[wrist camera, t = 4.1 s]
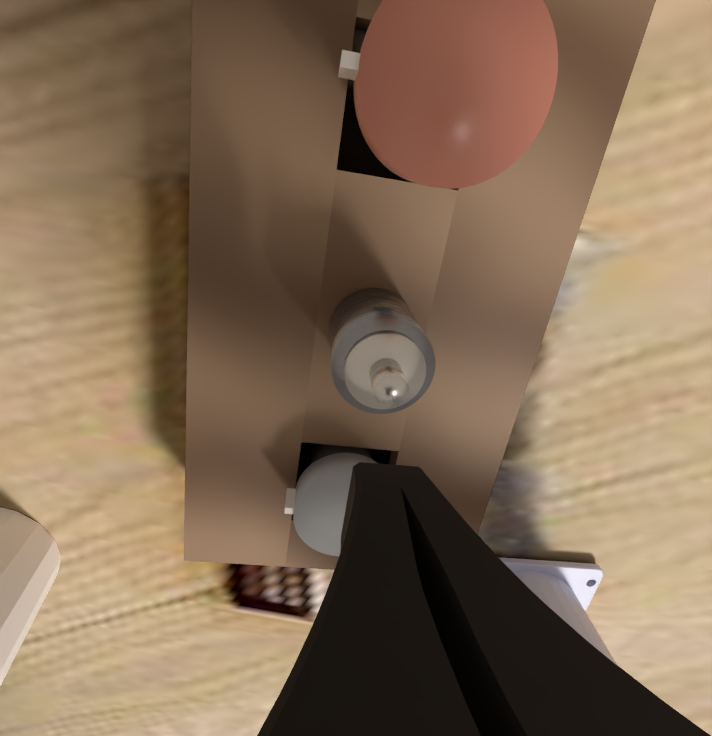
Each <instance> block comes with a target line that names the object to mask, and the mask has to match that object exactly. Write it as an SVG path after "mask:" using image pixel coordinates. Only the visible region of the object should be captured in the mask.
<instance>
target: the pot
mask: <svg viewBox="0 0 712 736" xmlns="http://www.w3.org/2000/svg"><path fill="white" fill-rule="evenodd" d="M330 347H331V365H332V377H333V381H334V384H335V386H336V388H337V390H338V392H339V393H340V395H341V396H342V397H343V398H344V399H345V400H346V401H347V402H348V403H349V404H350V405H352V406H354V407H355V408H357V409H359V410H362V411H365V412H368V413H374V414H388V413H393V412H397V411H400V410H403V409H405V408H407V407H409V406H411V405H412V404H414V403H415V402H416V401H418V400H419V399H420V398H421V397H422V396H423V395H424V393H425V392H426V391H427V389H428V388H429V386H430V384H431V382H432V380H433V377H434V373H435V365H436V361H435V354H434V350H433V347H432V345H431V343H430V341H429V340H428V338H427V336H426V335H425V333H424V332H423V330H422V328H421V327H420V325H419V324H418V322H417V320H416V319H415V317H414V315H413V314H412V312H411V311H410V309H409V307H408V306H407V304H406V303H405V302H404V301H403V300H402V299H401V298H400V297H399V296H398V295H396V294H395V293H393V292H391V291H389V290H386V289H382V288H364V289H360V290H357V291H355V292H353V293H351V294H349V295H348V296H346V297H345V298H344V299H343V300H342V301H341V302H340V303H339V304H338V305H337V307H336V308H335V310H334V312H333V314H332V317H331V321H330Z"/></svg>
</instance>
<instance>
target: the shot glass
mask: <svg viewBox="0 0 712 736" xmlns="http://www.w3.org/2000/svg"><path fill="white" fill-rule="evenodd" d="M60 560H61V556H60V553H59V550H58V547H57V544H56V542H55V539H54V538H53V537H52V536H51V535H50V534H49V533H48V532H47V531H46V530H45V529H44V528H43V527H42V526H41V525H40V524H39V523H38V522H36V521H34V520H32V519H30V518H28V517H27V516H25V515H23V514H21V513H19V512H17V511H14V510H10V509H6V508H1V507H0V686H1V684H2V682H3V680H4V678H5V676H6V674H7V672H8V670H9V668H10V666H11V664H12V662H13V660H14V658H15V656H16V654H17V652H18V651H19V649H20V647H21V645H22V643H23V641H24V639H25V637H26V635H27V633H28V631H29V629H30V627H31V625H32V623H33V621H34V619H35V617H36V615H37V613H38V611H39V609H40V607H41V605H42V603H43V601H44V600H45V598H46V596H47V594H48V592H49V590H50V588H51V586H52V584H53V582H54V580H55V578H56V576H57V574H58V570H59V565H60Z"/></svg>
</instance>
